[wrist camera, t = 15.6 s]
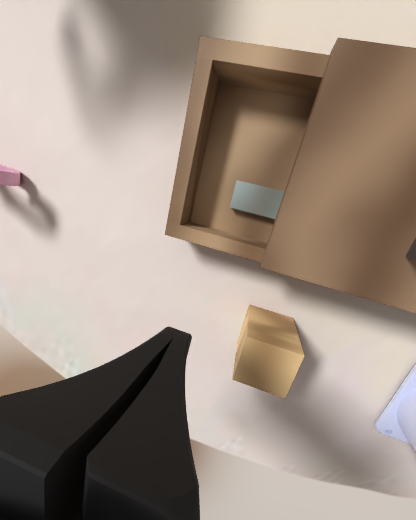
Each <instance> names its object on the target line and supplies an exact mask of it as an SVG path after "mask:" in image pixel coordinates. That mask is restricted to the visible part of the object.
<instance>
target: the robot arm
mask: <svg viewBox="0 0 416 520" xmlns="http://www.w3.org/2000/svg"><path fill="white" fill-rule="evenodd" d="M191 339H192V336H191V334H188V333H186V332H183V331H180V330H177V329H174V328H171V327H166V328H165V329H164V330H162V331H161V332H159V333H158V334H157V335H155V336H154V337H152V338H151V339H149V340H148V341H146V342H144V343H143V344H141V345H140V346H138V347H136V348H135V349H133V350H131V351H129V352H127V353H126V354H124V355H122V356H120V357H118V358H116V359H114V360H112V361H110V362H108V363H106V364H104V365H102V366H99V367H97V368H95V369H92V370H90V371H87V372H85V373H82V374H79V375H77V376H74V377H71V378H68V379H65V380H62V381H59V382H56V383H52V384H49V385H45V386H42V387H38V388H34V389H30V390H26V391H21V392H17V393H13V394H9V395H4V396H1V397H0V520H200V508H199V507H200V506H199V484H198V479H197V475H196V470H195V465H194V460H193V456H192V450H191V444H190V438H189V430H188V422H187V414H186V402H185V366H186V358H187V354H188V350H189V347H190V343H191ZM375 428H376V430H377V431H378V432H379V433H382V434H385V435H387V436H390V437H393V438H395V439H398V440H401V441H403V442H406V443H409V444H411V445H412V447H413V448H414V450H415V452H416V364H415V365H414V367H413V368H412V370H411V371H410V373H409V374H408V376H407V377H406V379H405V380H404V382H403V383H402V385H401V386H400V387H399V389H398V390H397V392H396V393H395V395H394V396H393V398H392V399H391V401H390V402H389V404H388V405H387V407H386V408H385V410H384V411H383V413H382V414H381V416H380V417H379V419H378V420H377V421H376V423H375Z"/></svg>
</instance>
